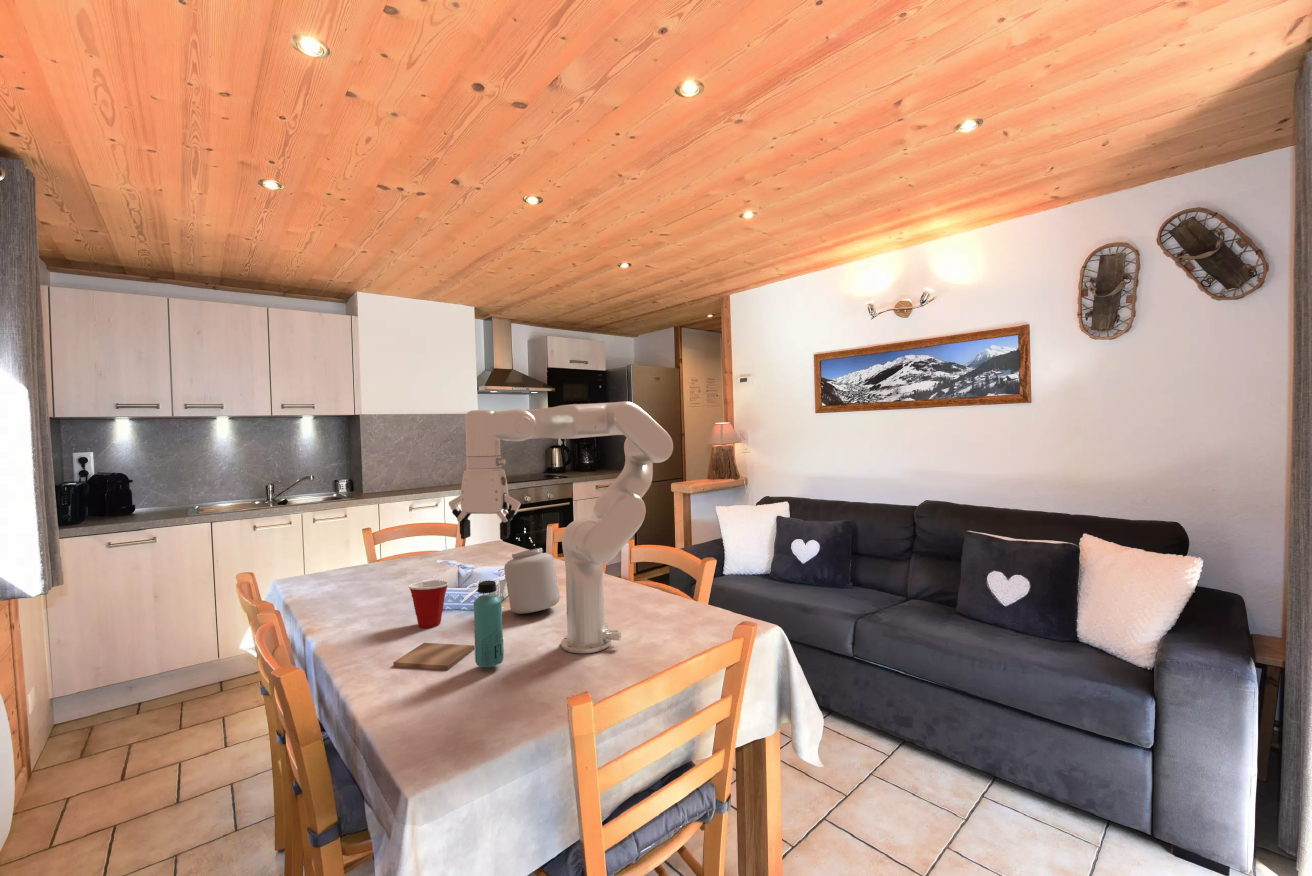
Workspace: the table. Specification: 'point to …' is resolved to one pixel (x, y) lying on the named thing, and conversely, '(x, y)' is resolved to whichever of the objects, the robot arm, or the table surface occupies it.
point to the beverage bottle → (488, 626)
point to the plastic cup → (428, 601)
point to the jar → (531, 581)
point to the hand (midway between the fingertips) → (485, 538)
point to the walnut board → (434, 656)
